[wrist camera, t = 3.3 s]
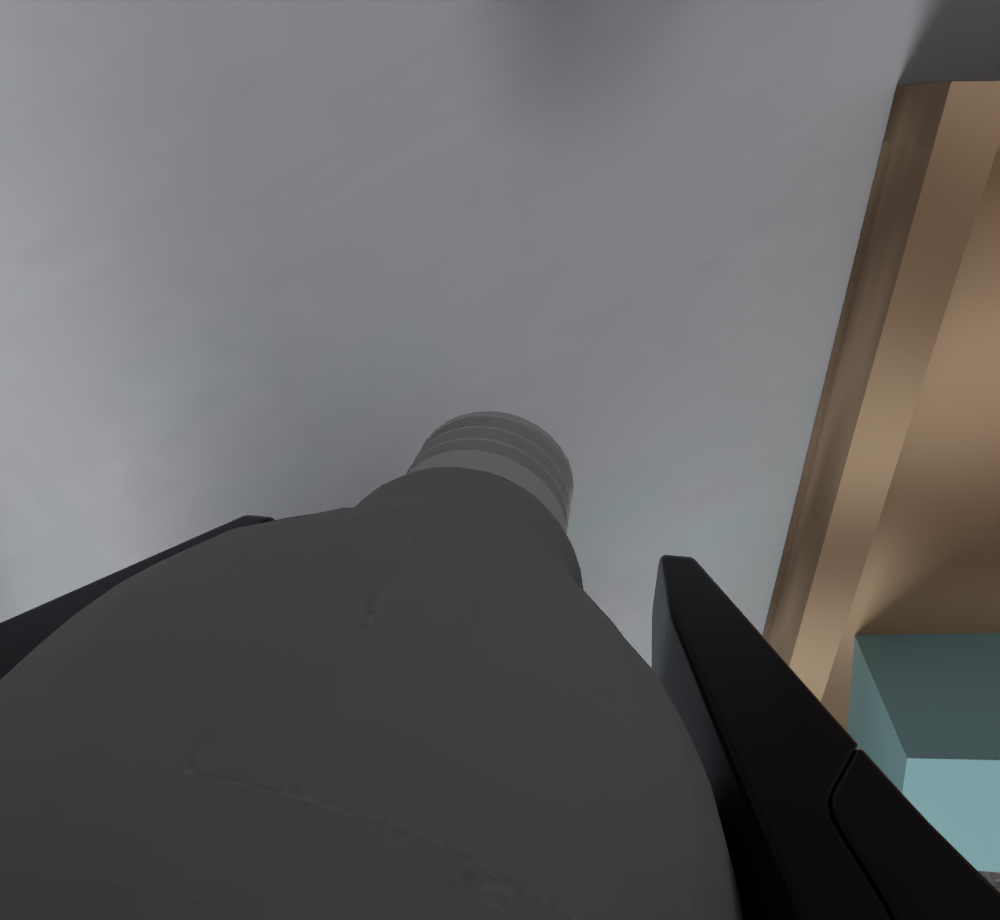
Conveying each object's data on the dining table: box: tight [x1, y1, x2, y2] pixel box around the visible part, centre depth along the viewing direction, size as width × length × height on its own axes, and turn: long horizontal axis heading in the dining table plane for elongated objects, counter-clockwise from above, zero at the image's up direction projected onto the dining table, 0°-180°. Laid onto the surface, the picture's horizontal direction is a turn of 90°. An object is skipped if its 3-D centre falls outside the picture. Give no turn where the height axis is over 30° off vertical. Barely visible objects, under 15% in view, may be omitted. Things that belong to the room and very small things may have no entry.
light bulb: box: [0, 411, 743, 920], centre depth 7 cm, size 6×6×10 cm
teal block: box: [847, 633, 1000, 872], centre depth 17 cm, size 4×4×4 cm
